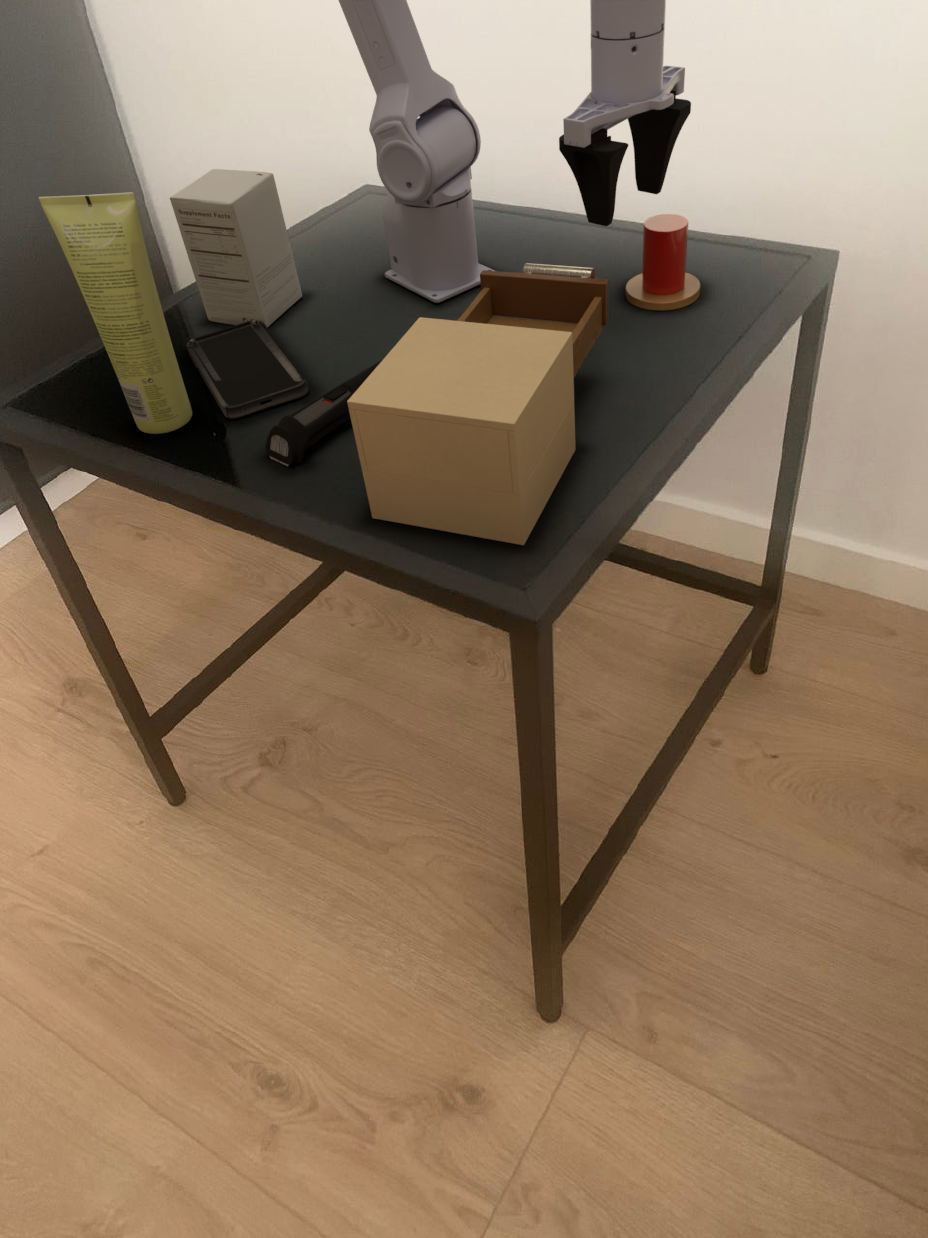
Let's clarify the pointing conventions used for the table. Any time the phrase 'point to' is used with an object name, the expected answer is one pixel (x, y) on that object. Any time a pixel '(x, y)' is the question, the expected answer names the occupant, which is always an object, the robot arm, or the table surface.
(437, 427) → the little tan box
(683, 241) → the red upright cylinder
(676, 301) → the cork coaster
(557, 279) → the drawer
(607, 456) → the table surface
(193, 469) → the table surface
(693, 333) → the table surface
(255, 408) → the phone
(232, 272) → the white packaging box
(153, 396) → the tube
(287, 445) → the electric trimmer
